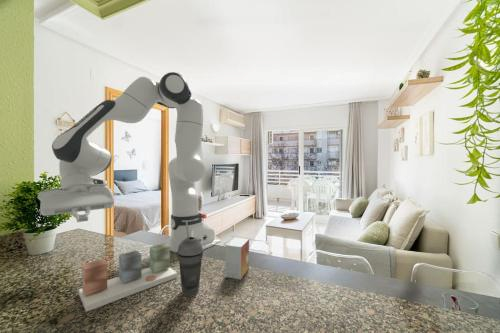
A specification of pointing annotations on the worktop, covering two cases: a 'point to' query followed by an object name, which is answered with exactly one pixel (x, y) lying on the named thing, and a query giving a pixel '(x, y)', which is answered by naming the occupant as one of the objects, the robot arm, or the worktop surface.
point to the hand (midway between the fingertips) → (82, 220)
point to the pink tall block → (94, 276)
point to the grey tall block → (129, 266)
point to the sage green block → (159, 257)
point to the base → (125, 287)
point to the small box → (236, 258)
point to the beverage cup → (190, 264)
